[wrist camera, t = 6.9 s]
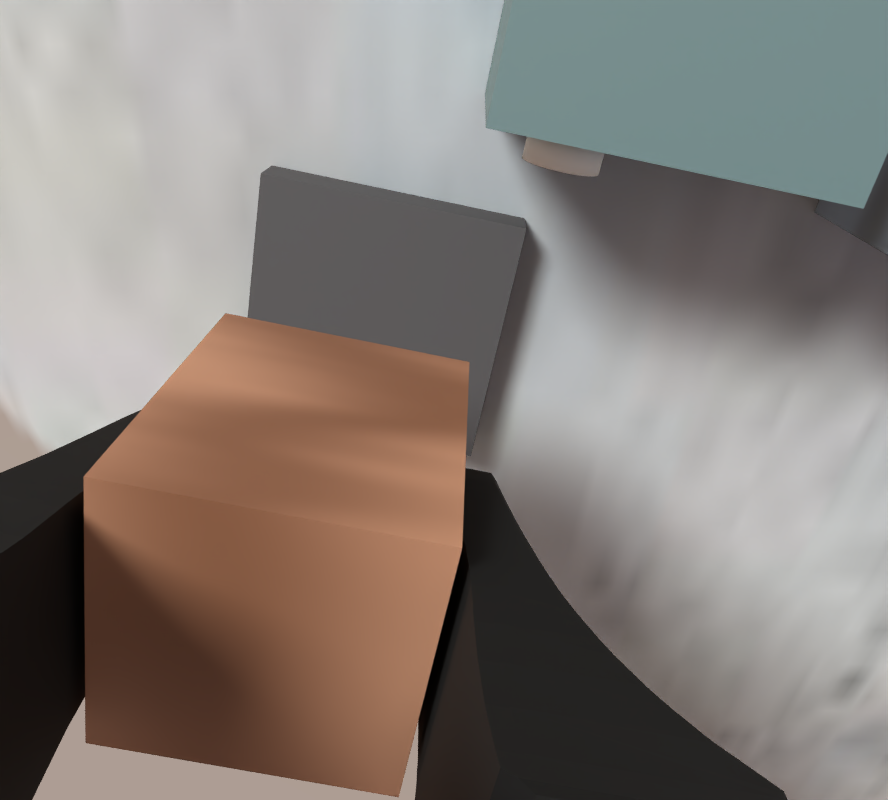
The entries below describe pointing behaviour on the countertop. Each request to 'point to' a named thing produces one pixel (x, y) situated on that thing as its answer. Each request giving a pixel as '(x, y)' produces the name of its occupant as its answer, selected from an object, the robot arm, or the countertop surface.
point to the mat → (385, 270)
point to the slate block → (864, 214)
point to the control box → (700, 88)
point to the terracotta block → (276, 556)
